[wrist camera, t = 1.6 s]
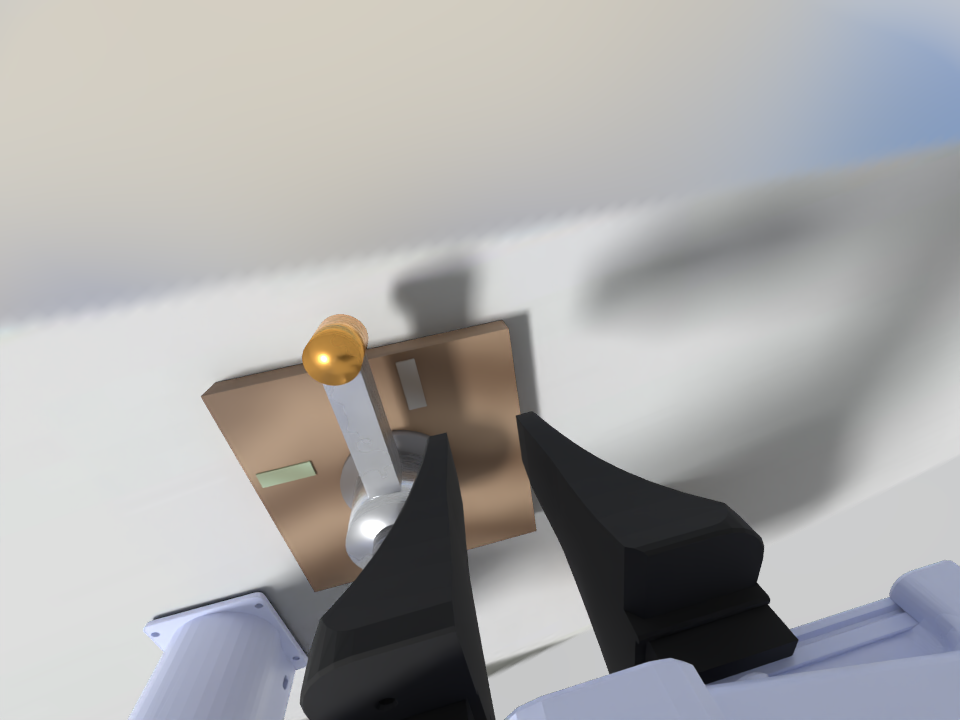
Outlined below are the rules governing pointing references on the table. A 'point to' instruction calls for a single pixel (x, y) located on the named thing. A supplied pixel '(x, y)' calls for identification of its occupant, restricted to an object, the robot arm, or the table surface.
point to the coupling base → (412, 418)
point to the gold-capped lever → (361, 432)
